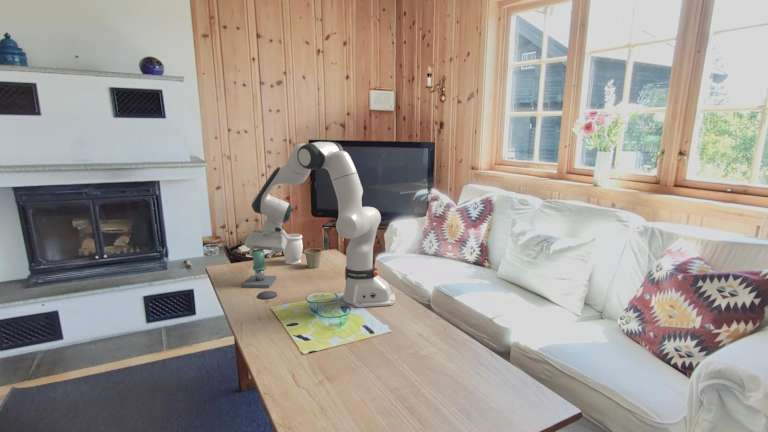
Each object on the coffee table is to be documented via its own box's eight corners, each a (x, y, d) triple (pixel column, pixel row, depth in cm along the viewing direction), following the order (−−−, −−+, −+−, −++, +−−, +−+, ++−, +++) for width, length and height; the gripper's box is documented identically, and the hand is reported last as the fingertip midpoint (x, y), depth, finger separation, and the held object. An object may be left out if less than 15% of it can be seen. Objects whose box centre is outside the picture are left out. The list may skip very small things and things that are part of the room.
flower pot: (301, 268, 217) (301, 252, 215) (307, 263, 226) (307, 247, 224) (319, 269, 215) (318, 253, 213) (324, 264, 224) (324, 248, 223)
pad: (279, 292, 184) (279, 291, 184) (273, 299, 177) (273, 298, 176) (261, 292, 185) (261, 290, 184) (255, 299, 177) (255, 297, 177)
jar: (307, 261, 228) (306, 235, 225) (293, 266, 220) (292, 239, 217) (293, 258, 234) (292, 232, 231) (279, 263, 225) (278, 236, 222)
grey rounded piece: (266, 277, 198) (265, 266, 197) (262, 282, 192) (261, 271, 191) (257, 277, 198) (257, 266, 197) (253, 282, 192) (252, 270, 191)
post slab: (276, 278, 201) (276, 275, 201) (268, 287, 189) (268, 284, 189) (251, 278, 202) (251, 275, 201) (242, 287, 190) (242, 284, 189)
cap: (267, 266, 197) (266, 250, 195) (263, 270, 191) (262, 254, 190) (255, 266, 197) (254, 250, 195) (251, 270, 191) (250, 253, 190)
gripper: (248, 226, 201) (237, 251, 194) (286, 229, 196) (276, 255, 188) (254, 233, 206) (243, 257, 199) (291, 236, 201) (281, 262, 193)
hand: (259, 256), depth 194 cm, fingers open, 8 cm apart
